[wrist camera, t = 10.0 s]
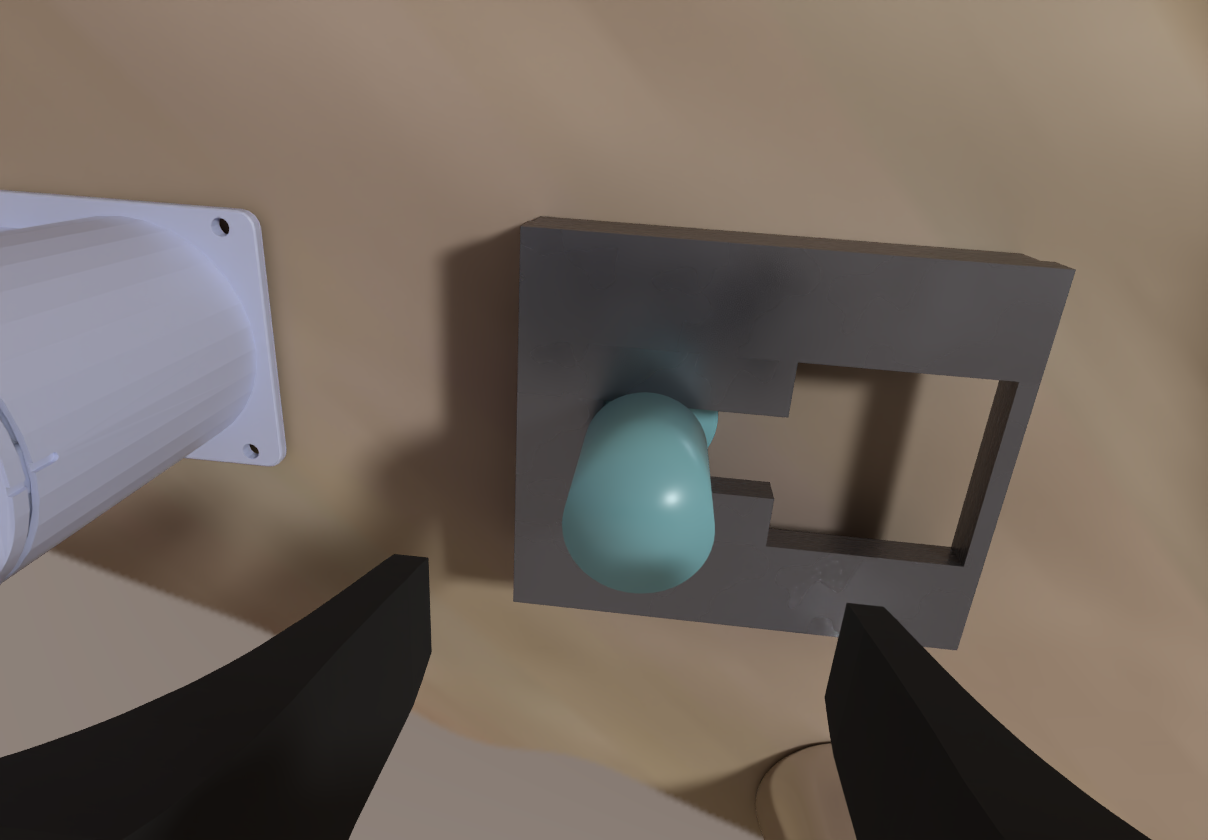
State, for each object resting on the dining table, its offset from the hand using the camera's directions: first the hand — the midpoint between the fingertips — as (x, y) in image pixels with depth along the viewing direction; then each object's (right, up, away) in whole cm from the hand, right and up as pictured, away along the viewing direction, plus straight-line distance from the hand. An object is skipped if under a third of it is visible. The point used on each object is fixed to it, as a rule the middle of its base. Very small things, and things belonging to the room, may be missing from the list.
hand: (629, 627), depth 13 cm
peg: (+1, +4, +10) cm, 10 cm away
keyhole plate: (+4, +4, +9) cm, 11 cm away
